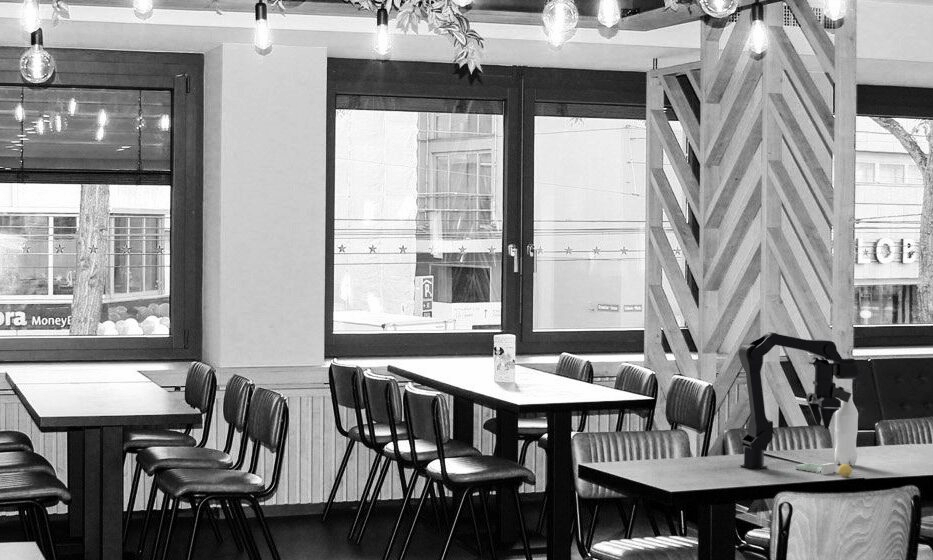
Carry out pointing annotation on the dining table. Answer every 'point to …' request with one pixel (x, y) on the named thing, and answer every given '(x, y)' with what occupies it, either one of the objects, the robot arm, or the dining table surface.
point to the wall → (828, 468)
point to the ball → (845, 470)
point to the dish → (809, 467)
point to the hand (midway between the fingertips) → (822, 426)
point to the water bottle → (846, 432)
